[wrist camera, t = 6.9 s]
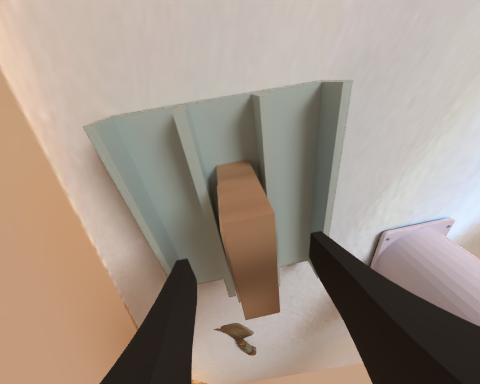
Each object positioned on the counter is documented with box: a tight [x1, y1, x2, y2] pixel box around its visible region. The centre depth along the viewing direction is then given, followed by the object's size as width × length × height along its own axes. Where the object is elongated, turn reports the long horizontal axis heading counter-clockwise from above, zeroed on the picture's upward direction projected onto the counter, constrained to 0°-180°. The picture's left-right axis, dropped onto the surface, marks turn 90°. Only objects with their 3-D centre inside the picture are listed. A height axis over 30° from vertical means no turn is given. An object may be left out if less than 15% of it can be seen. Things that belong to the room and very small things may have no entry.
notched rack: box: [83, 80, 353, 297], centre depth 14 cm, size 16×13×3 cm
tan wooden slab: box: [216, 160, 280, 320], centre depth 12 cm, size 8×2×6 cm, turn 8°
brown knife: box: [214, 323, 256, 356], centre depth 28 cm, size 12×1×5 cm
